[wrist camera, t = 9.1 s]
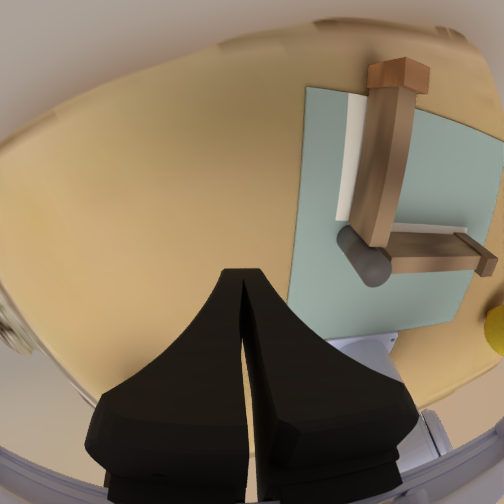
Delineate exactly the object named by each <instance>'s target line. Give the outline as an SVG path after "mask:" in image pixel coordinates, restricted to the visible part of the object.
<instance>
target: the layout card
mask: <svg viewBox="0 0 504 504" xmlns="http://www.w3.org/2000/svg"><path fill="white" fill-rule="evenodd" d="M367 106H368V97H367V96H362V95H357V94H352V93H346V92H340V91H334V90H327V89H320V88H312V87H306V95H305V114H304V131H303V146H302V159H301V172H300V184H299V196H298V207H297V217H296V227H295V237H294V246H293V255H292V264H291V273H290V281H289V289H288V297H287V305H288V306H289V308H290V309H291V310H292V311H293V312H294V313H295V314H296V315H297V316H298V317H299V318H300V319H301V320H302V321H303V322H304V323H305V324H306V325H307V326H308V327H309V328H310V329H312V330H313V331H314V332H315V333H316V334H317V335H319V336H320V337H321V338H323V339H330V338H341V337H351V336H360V335H369V334H377V333H385V332H392V331H399V330H406V329H412V328H418V327H424V326H430V325H435V324H440V323H446V322H451V321H453V319H454V317H455V315H456V313H457V311H458V308H459V306H460V304H461V302H462V300H463V298H464V295H465V293H466V291H467V288H468V286H469V284H470V281H471V279H472V276H473V274H474V270H462V271H445V272H426V273H404V274H391V275H390V277H389V279H388V280H387V281H386V282H385V283H384V284H382V285H381V286H379V287H374V288H371V287H368V286H366V285H365V284H364V283H363V281H362V280H361V278H360V277H359V275H358V274H357V272H356V271H355V269H354V268H353V266H352V265H351V263H350V262H349V260H348V259H347V257H346V256H345V255H344V253H343V252H342V250H341V249H340V247H339V246H338V244H337V241H336V238H337V234H338V232H339V231H340V230H341V229H342V228H343V227H345V226H347V225H350V224H349V223H348V220H349V215H350V210H351V205H352V200H353V195H354V190H355V185H356V179H357V174H358V168H359V162H360V156H361V150H362V143H363V137H364V129H365V122H366V114H367ZM503 165H504V142H502V141H500V140H498V139H495V138H493V137H491V136H489V135H487V134H484V133H482V132H480V131H477V130H475V129H472V128H470V127H467V126H465V125H462V124H460V123H457V122H454V121H452V120H449V119H446V118H443V117H440V116H437V115H434V114H431V113H428V112H425V111H422V110H418V109H415V113H414V121H413V128H412V135H411V141H410V148H409V153H408V159H407V164H406V169H405V174H404V179H403V184H402V189H401V193H400V197H399V202H398V206H397V210H396V214H395V218H394V222H393V225H392V229H391V232H417V233H439V234H454V232H460V233H466V234H467V235H469V236H470V237H471V238H473V239H474V240H475V241H477V242H478V243H479V244H480V245H482V246H484V243H485V240H486V237H487V233H488V230H489V227H490V223H491V220H492V216H493V212H494V208H495V204H496V200H497V196H498V191H499V187H500V182H501V177H502V171H503Z"/></svg>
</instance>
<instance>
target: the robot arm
mask: <svg viewBox="0 0 504 504" xmlns="http://www.w3.org/2000/svg"><path fill="white" fill-rule="evenodd" d="M397 337H398V332H397V331H392V332H385V333H377V334H369V335H360V336H351V337H341V338H330V339H326V340H324V339H323V338H321V337H320V336H319V335H317V334H316V333H315V332H314V331H313V330H312V329H310V328H309V327H308V326H307V325H306V324H305V323H304V322H303V321H302V320H301V319H300V318H299V317H298V316H297V315H296V314H295V313H294V312H293V311H292V310H291V309H290V308H289V306H288V305H287V304H286V303H285V302H284V301H283V299H282V298H281V297H280V296H279V295H278V293H277V292H276V291H275V289H274V288H273V287H272V285H271V284H270V282H269V281H268V280H267V278H266V276H265V275H264V273H263V272H262V270H261V269H260V268H234V269H224V270H222V271H221V275H220V277H219V280H218V282H217V284H216V286H215V288H214V289H213V291H212V293H211V294H210V296H209V298H208V299H207V301H206V303H205V304H204V306H203V307H202V308H201V310H200V311H199V313H198V314H197V315H196V317H195V318H194V319H193V321H192V322H191V323H190V324H189V326H188V327H187V328H186V329H185V330H184V331H183V333H182V334H181V335H180V336H179V337H178V338H177V339H176V340H175V341H174V342H173V343H172V344H171V345H170V346H169V347H168V348H167V349H166V350H165V351H164V352H163V353H161V354H160V355H159V356H158V357H157V358H156V359H154V360H153V361H152V362H151V363H149V364H148V365H147V366H145V367H144V368H143V369H142V370H140V371H139V372H138V373H136V374H135V375H134V376H132V377H131V378H129V379H127V380H126V381H124V382H123V383H121V384H119V385H118V386H116V387H114V388H113V389H111V390H109V391H107V392H106V393H104V394H102V396H101V398H100V400H99V402H98V404H97V406H96V408H95V411H94V413H93V416H92V419H91V422H90V426H89V429H88V433H87V436H86V440H85V444H84V445H85V449H86V451H87V452H88V454H89V455H90V456H91V457H92V458H93V459H94V460H95V461H96V462H97V463H98V464H100V465H101V466H102V467H103V468H104V469H106V471H108V472H109V473H110V474H111V476H110V482H109V488H105V487H101V486H97V485H94V484H91V483H87V482H84V481H81V480H78V479H75V478H72V477H69V476H66V475H63V474H61V473H58V472H55V471H53V470H50V469H48V468H45V467H43V466H40V465H38V464H36V463H34V462H31V461H29V460H27V459H25V458H23V457H21V456H19V455H17V454H15V453H13V452H11V451H9V450H7V449H5V448H3V447H1V446H0V504H497V503H498V502H499V501H500V500H501V499H502V498H503V497H504V417H503V418H502V419H501V420H500V421H499V422H498V423H497V424H496V425H495V427H493V428H491V429H490V430H488V431H487V432H485V433H483V434H482V435H480V436H478V437H477V438H475V439H473V440H472V441H470V442H468V443H466V444H465V445H462V446H460V447H459V448H457V449H455V450H453V449H452V446H451V443H450V441H449V438H448V436H447V434H446V431H445V429H444V427H443V425H442V423H441V421H440V420H439V417H438V415H437V414H436V412H435V411H432V410H428V409H425V410H423V411H422V412H421V413H422V415H423V418H424V420H425V423H424V421H423V419H422V417H421V415H420V413H419V410H418V408H417V406H416V405H415V404H414V402H413V399H412V397H411V395H410V393H409V392H408V390H407V388H406V386H405V384H404V382H403V380H402V378H401V376H400V374H399V372H398V370H397V368H396V366H395V364H394V363H393V361H392V359H391V357H390V355H389V354H390V352H391V350H392V348H393V346H394V343H395V341H396V339H397ZM242 339H243V346H244V352H245V358H246V364H247V370H248V376H249V382H250V389H251V397H252V411H253V427H254V443H255V460H256V478H257V497H258V502H255V503H245V493H246V487H247V477H248V465H249V439H248V425H247V416H246V406H245V396H244V386H243V374H242V362H241V348H242ZM425 424H426V425H425ZM426 426H427V428H426ZM427 429H428V430H427ZM428 431H429V432H428ZM438 455H439V456H438Z"/></svg>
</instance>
